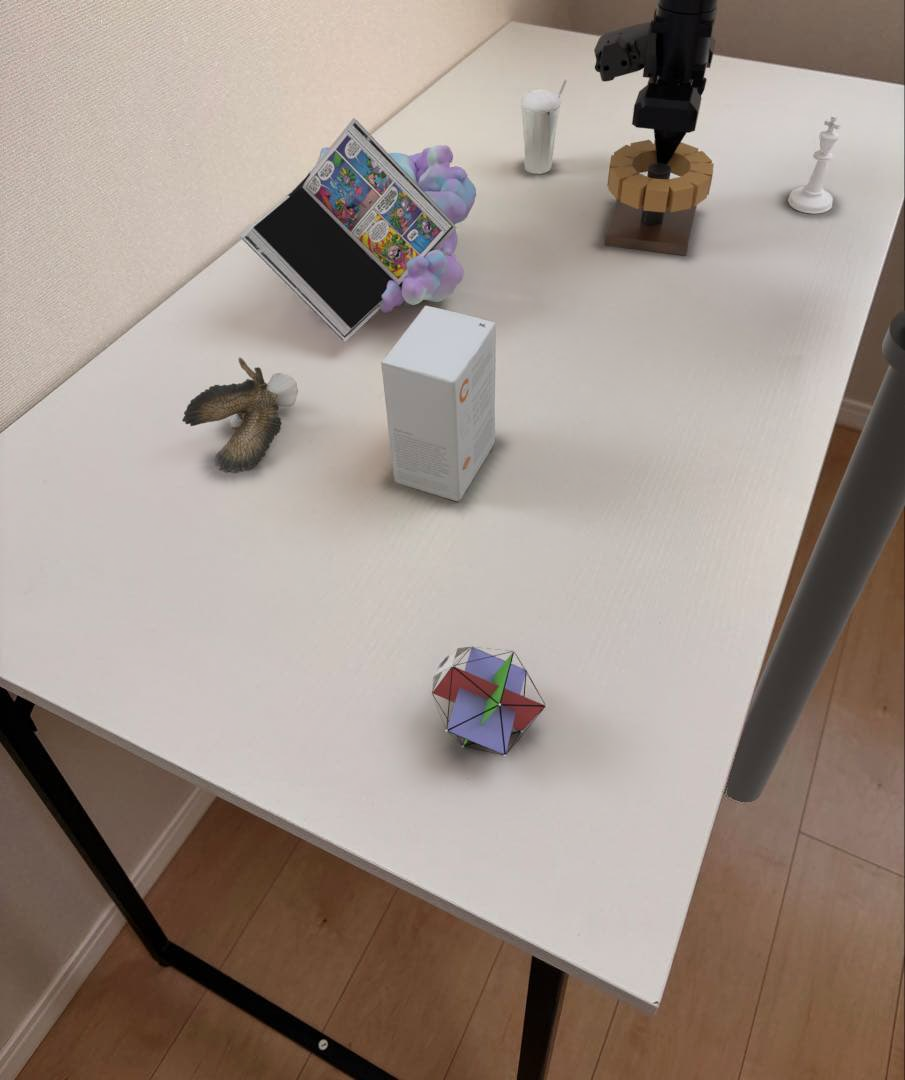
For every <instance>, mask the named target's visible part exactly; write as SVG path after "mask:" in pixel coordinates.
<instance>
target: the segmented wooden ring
mask: <svg viewBox="0 0 905 1080" xmlns="http://www.w3.org/2000/svg"><path fill="white" fill-rule="evenodd" d="M610 157H611V158H610V162H609V166H608V174H607V175H608V176H607V184H606V186H607V187H608V188H607V189H608V191H609V192H610V193H611V195H612V196H613V198H615V200H617V199H621V201H620V202H622V203H624V204H627V205H629V206H631V207H634V208H636V209H639V208H640V207H642V206H643V205H644V208H643V210H644V211H655V212H665V211H666V207H667V209H668V210H669V211H670V212H675V211H680V210H685V209H690V208H691V205H692V206H696V205H697V206H698V205H699V204H701V203H702V202H704V200H706V199H707V198H708V196H709V195H710V191H711V185H712V180H713V175H714V165H715V164H714V163H713V160H712V159H711V157H709V156H708V155H707V154H706V152H704V151H703V150H699V148H698V147H696V146H693V145H690V144H687V143H684V142H682V141H681V143H680V144H679V146H678V147H677V149H676V151H675V152H674V154H673V156H672V157H671V159H670V161H669V162H668V164H667V165H669V166H670V167H671V173H670V174H673V175H675V176H678V177H671V178H670V179H667V180H665V179H653V178H649V177H647V175H644V173H648V167H649V166H650V165H651V164H654V163H657V156H656V146H655V140H654V141H653V142H652V141H651V139H645V140H639V141H634V142H631V143H630V145H629V144H625V145H623V146H621V147H620V148H619V149H617V150H616V151H613V154H611V156H610Z"/></svg>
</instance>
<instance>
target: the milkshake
mask: <svg viewBox="0 0 905 1080" xmlns="http://www.w3.org/2000/svg"><path fill="white" fill-rule="evenodd" d="M566 84H567V79H564V81H563V83H562V85H561V88H560V90H559V93H558V94H556V93H555V92H553V91H551V90H548V89H542V88H541V89H540V88H536V89H534V90H530V91H528V92H526V93H525V94H524V95H523V97H522V99H521V102H520V103H521V117H522V129H523V130H522V132H523V158H524V159H523V160H524V169H525V171H526V172H528V173H530V174H533V175H542V174H546V173H548V172H549V171H551V170H552V164H553V157H554V150H555V143H556V135H557V128H558V127H557V126H558V123H559V116H560V109H561V104H562V102H561V96H562V93H563V91H564V89H565V87H566Z"/></svg>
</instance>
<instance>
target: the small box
mask: <svg viewBox="0 0 905 1080" xmlns="http://www.w3.org/2000/svg"><path fill="white" fill-rule="evenodd" d="M496 332H497V323H496V322H494V321H491V320H487V319H483V318H481V317H476V316H472V315H469V314H464V313H459V312H457V311H456V312H455V311H452V310H446V309H443V308H438V307H434V306H429V305H424V306H423V307H422V309H421V310H420V311H419V313H418V314H417V315H416V317H415V318H414V319H413V321H412V322H411V323H410V324H409V326H408V327H407V328H406V330H405V331H404V332H403V333H402V335H401V336H400V337H399V338H398V339H397V341H396V342H395V344H394V345H393V346H392V348H391V349H390V350H389V351H388V353H386V355H385V356H384V358H383V359H382V360H381V361H380V364H381V374H382V381H383V382H382V384H383V393H384V401H385V409H386V410H385V411H386V419H387V427H388V428H387V429H388V437H389V447H390V456H391V466H392V475H393V481H394V482H395V483H396V484H399V485H402V486H405V487H409V488H413V489H415V490H416V489H417V490H418V491H422V492H425V493H429V494H431V495H435V496H438V497H441V498H444V499H448V500H451V501H453V502H460V501H461V500H462V498H463V497H464V495H465V493H466V491H467V490H468V488H469V487H470V485H471V484H472V481H474V479H475V477H476V475H477V474H478V472H479V470H480V469H481V467H482V465H483V464H484V463H485V461H486V459H487V457H488V455H489V453H490V452H491V450H492V448H493V447H494V445H495V443H496V352H497V351H496V350H497V345H496V343H497V342H496V341H497V340H496V339H497V333H496Z"/></svg>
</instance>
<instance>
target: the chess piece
mask: <svg viewBox="0 0 905 1080" xmlns="http://www.w3.org/2000/svg"><path fill="white" fill-rule="evenodd" d="M837 119H838V116H837V115H832V116H831V117H830V119H828V118H827V119H825V120H824V123H823V125H824V126H827V129H824V130H822V131H820V133H819V136H818V137H819V150H818V149H817V150H815V151H814V153H813V155H812V156H813V159H815V160H816V163H815V164H814V165H815V166H814V168H813V170H812V174H811V175H810V177H809V179H808V182H807V184H806V185H804V186H799V187H796V188H794V189H792V191H791V192H790V194H789V196H788V198H787V203H788V204H789V206H790V207H791V208H793V209H794V210H796V211H799V212H801V213H805V214H811V215H815V214H822V213H826V212H828V211H829V210H831V209H832V207H833V201H834V197H833V196H832V194H831V193H830V192H828V191H827V190H826V189H825V188H824V187H823V184H824V178H825V177H824V176H825V169H826V165H827V162H831V161H832V160H833V159H834V154H833V153H832V152H831V150H832V149H833V147H834V145H835V143H837V141H838V139H839V134H838V133H837V132H836V131H835V130H839V129H840V128H841V123H839V122H837Z"/></svg>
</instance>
